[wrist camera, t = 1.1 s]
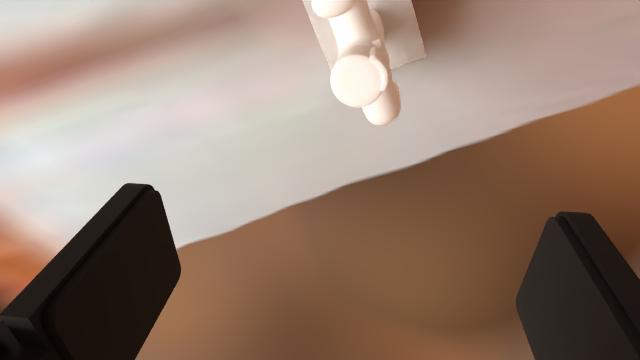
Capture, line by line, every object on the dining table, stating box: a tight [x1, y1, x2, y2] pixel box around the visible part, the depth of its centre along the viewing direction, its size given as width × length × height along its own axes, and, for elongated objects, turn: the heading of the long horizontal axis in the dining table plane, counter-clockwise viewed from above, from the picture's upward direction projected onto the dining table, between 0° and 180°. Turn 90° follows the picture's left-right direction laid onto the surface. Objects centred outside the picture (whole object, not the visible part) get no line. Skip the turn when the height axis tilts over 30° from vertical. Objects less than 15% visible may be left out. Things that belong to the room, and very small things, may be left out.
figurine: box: [302, 0, 427, 125], centre depth 26 cm, size 7×9×15 cm
